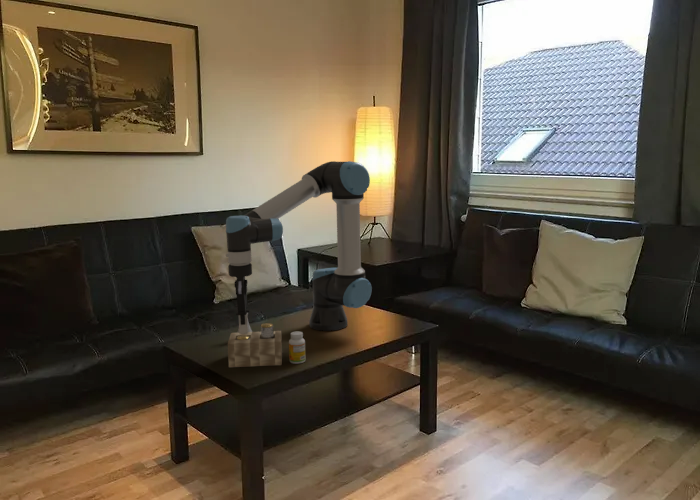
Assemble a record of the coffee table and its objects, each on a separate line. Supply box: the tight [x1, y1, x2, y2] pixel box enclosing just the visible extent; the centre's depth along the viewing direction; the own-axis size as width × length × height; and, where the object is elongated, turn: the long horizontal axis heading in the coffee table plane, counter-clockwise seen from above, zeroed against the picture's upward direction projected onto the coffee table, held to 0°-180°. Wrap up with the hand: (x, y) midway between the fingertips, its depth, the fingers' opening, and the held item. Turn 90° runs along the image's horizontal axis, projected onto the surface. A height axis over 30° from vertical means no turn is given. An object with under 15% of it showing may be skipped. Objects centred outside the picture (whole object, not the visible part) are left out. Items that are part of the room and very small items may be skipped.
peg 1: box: [237, 335, 249, 340], centre depth 207 cm, size 4×4×8 cm
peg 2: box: [260, 322, 274, 339], centre depth 207 cm, size 4×4×8 cm
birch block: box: [227, 330, 283, 368], centre depth 208 cm, size 17×12×8 cm
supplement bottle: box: [288, 330, 307, 365], centre depth 206 cm, size 5×5×10 cm
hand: (243, 332), depth 207 cm, fingers closed
